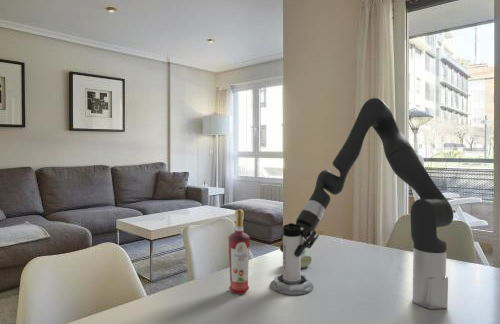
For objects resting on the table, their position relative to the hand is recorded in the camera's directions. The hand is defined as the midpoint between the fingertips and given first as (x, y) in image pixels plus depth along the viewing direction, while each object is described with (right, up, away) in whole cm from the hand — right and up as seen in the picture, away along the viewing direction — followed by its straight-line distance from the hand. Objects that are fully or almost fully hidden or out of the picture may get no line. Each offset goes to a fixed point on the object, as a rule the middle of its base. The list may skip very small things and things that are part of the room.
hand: (288, 253), depth 120 cm
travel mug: (+1, -10, +2) cm, 11 cm away
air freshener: (+6, -12, +23) cm, 26 cm away
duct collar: (+1, -12, +1) cm, 12 cm away
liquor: (-17, -12, -3) cm, 22 cm away
